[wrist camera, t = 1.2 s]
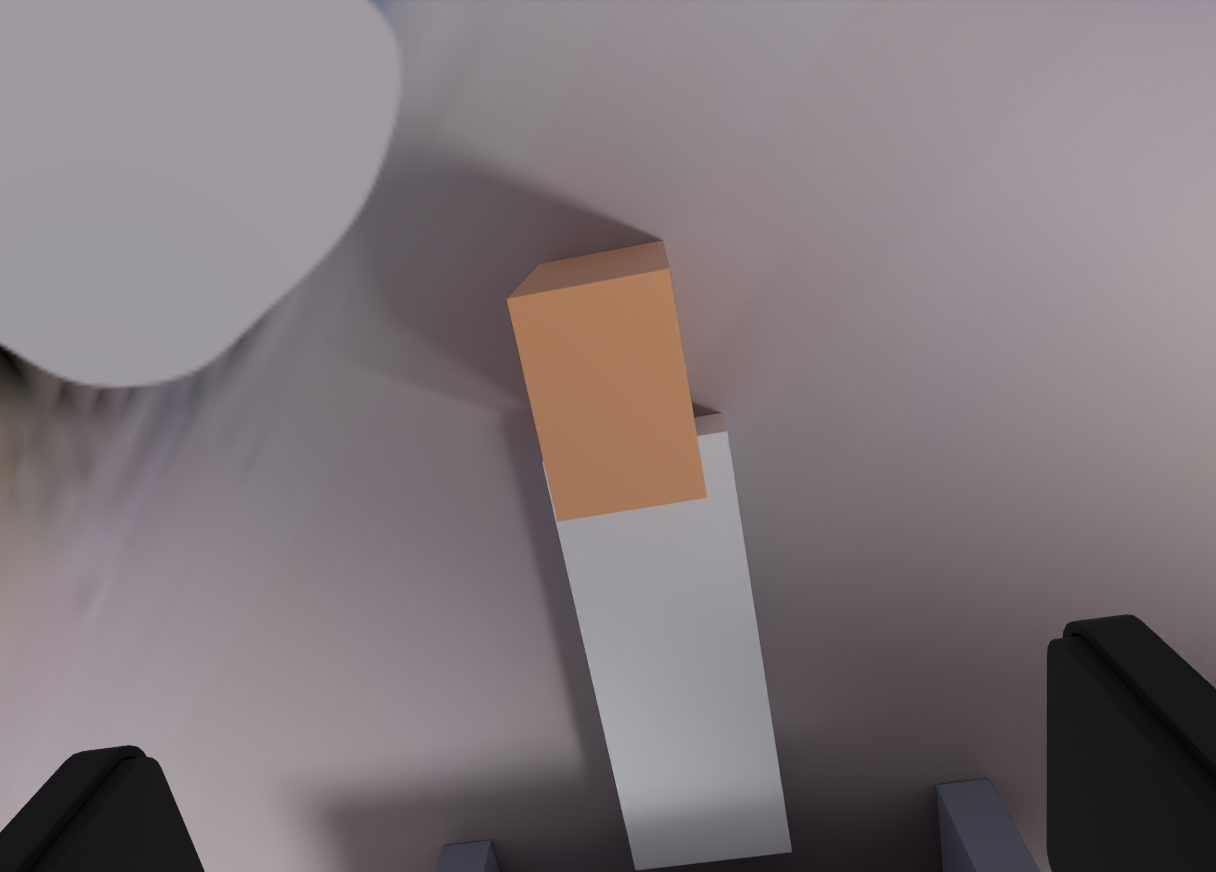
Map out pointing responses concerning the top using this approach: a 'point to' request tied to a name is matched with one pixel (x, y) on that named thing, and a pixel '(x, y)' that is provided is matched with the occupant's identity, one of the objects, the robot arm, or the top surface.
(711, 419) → the scraper tool
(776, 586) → the top surface
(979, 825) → the riser shelf
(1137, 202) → the top surface
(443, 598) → the top surface
